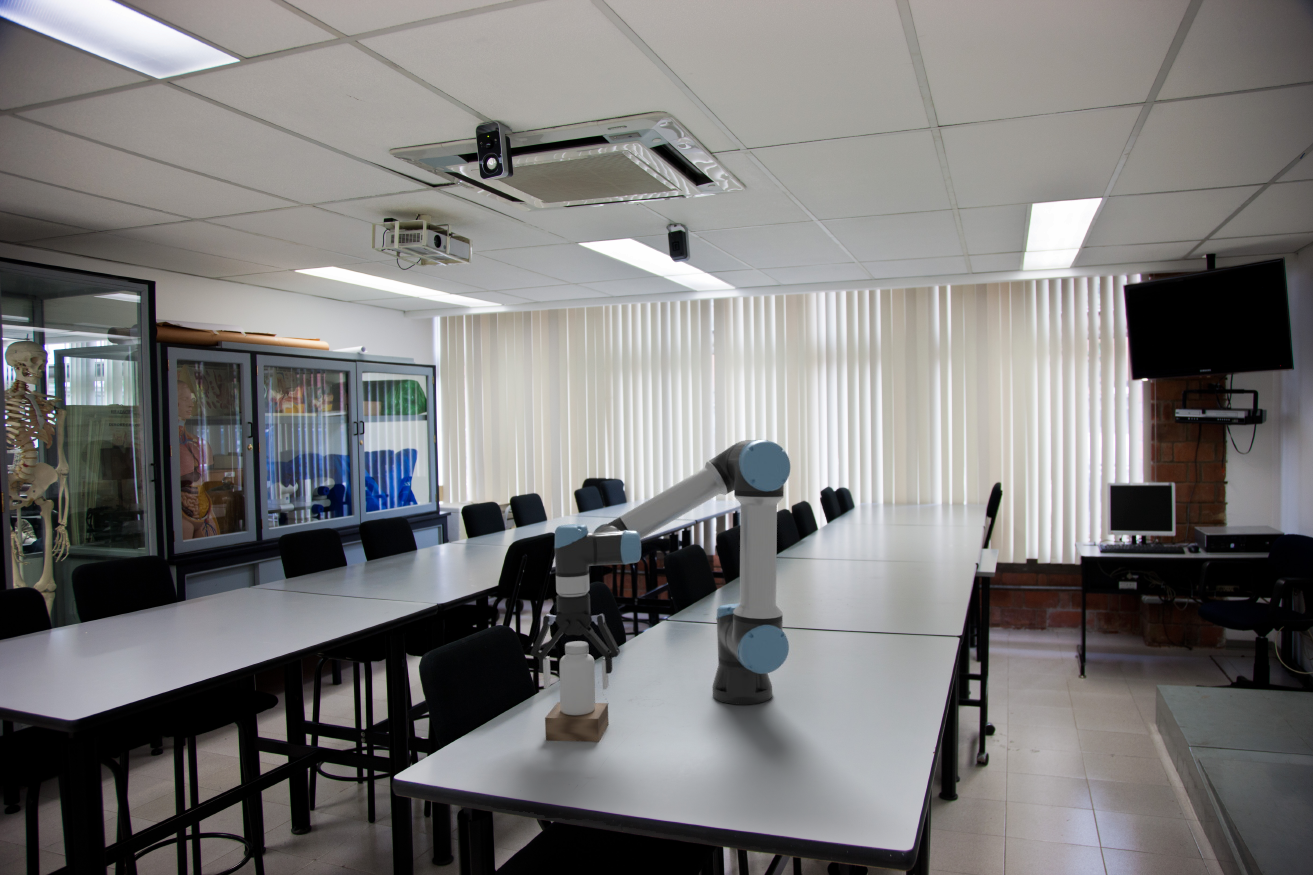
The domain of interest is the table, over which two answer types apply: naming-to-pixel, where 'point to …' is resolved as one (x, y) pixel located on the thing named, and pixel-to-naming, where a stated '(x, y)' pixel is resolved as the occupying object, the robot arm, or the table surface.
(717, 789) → the table surface
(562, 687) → the pill bottle
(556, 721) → the walnut stand
